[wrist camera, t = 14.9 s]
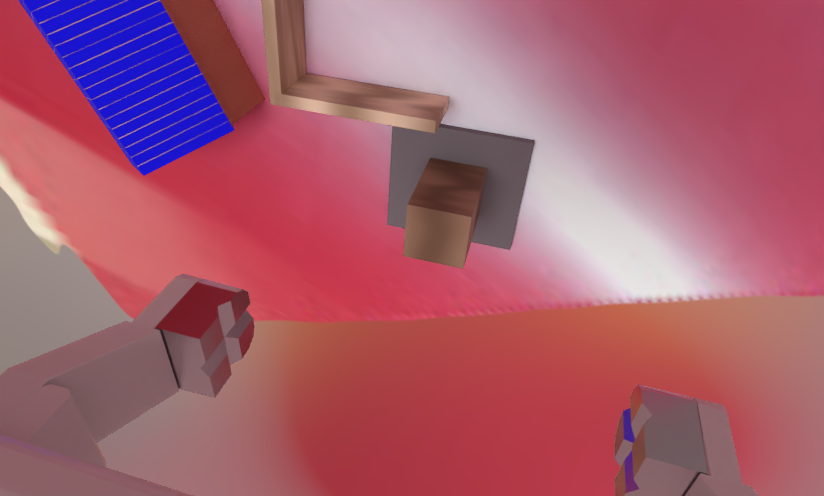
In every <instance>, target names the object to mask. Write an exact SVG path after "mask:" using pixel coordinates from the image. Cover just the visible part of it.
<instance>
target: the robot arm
mask: <svg viewBox="0 0 824 496" xmlns="http://www.w3.org/2000/svg"><path fill="white" fill-rule="evenodd" d="M249 305H250V298H249V294H248V292H247V291H245V290H243V289H239V288H235V287H232V286H228V285H224V284H221V283H217V282H213V281H209V280H206V279H201V278H197V277H193V276H190V275H186V274H182V275H179V276H177V277H175V278H174V279H173V280H172V281H171V282H170V283H169V284H168V285H167V286H166V287H165V289H164V290H163V291H162V292H161V293H160V294H159V295H158V296H157V297H156V298H155V299H154V300H153V301H152V302H151V303H150V304H149V305H148V306H147V307H146V308H145V309H144V310H143V311H142V312H141V313H140V314H139V315H138V316H137V317H136V318H135V319H134V320H133V321H132V322H128V321H124V322H122V323H119V324H117V325H114V326H112V327H109V328H107V329H105V330H102V331H100V332H97V333H95V334H92V335H90V336H87V337H85V338H82V339H80V340H77V341H75V342H72V343H70V344H67V345H65V346H63V347H60V348H57V349H55V350H53V351H50V352H48V353H45V354H43V355H40V356H38V357H35V358H33V359H30V360H28V361H26V362H23V363H20V364H18V365H16V366H13V367H11V368H8V369H7V370H6V371H5V372H3V373H2V374H1V375H0V496H192V495H189V494H186V493H183V492H180V491H177V490H174V489H171V488H168V487H165V486H162V485H158V484H155V483H152V482H149V481H146V480H143V479H140V478H137V477H133V476H131V475H127V474H124V473H121V472H118V471H115V470H112V469H109V468H106V461H105V458H104V456H103V454H102V452H101V450H100V448H99V446H98V444H97V442H99V441H100V440H102V439H103V438H105V437H107V436H108V435H109V434H111V433H113V432H114V431H116V430H118V429H119V428H121V427H123V426H124V425H126V424H127V423H129V422H130V421H132V420H134V419H135V418H137V417H138V416H140V415H142V414H143V413H145V412H146V411H148V410H149V409H151V408H153V407H154V406H156V405H158V404H159V403H161V402H162V401H164V400H166V399H167V398H169V397H170V396H172V395H174V394H175V393H177V392H178V391H179V389H182V390H186V391H190V392H193V393H197V394H201V395H206V396H209V397H213V398H215V397H216V396H217V394H218V393H219V392H220V390H221V389H222V387H223V386H224V384H225V383H226V382H227V380H228V378H229V377H230V376H231V366H230V365H231V364H233V363H235V362H237V361H239V360H241V359H242V358H243V357H244V355H245V354H246V352H247V351H248V349H249V347H250V344H251V342H252V339H253V336H254V321H253V317H252V316H251V315H250V314H249V313H248V311H247V310H246V309H247V307H248V306H249ZM614 453H615V455H614V456H615V460H616V461H617V463H618V464H619V466H620V467H621V468H620V470H619V472H618V474H617V476H616V478H615V496H758V494H757V493H756V492H755V491H754V489H753V488H752V487H750V486H746V485H743V484H742V480H741V475H740V471H739V466H738V461H737V457H736V452H735V447H734V443H733V438H732V434H731V429H730V425H729V420H728V415H727V411H726V409H725V407H724V406H723V405H722V404H717V403H714V402H710V401H705V400H701V399H697V398H692V397H689V396H685V395H680V394H676V393H672V392H667V391H663V390H659V389H654V388H650V387H645V386H642V385H637V386H636V387H635V388H634V390H633V392H632V394H631V396H630V409H627V410H625V411H623V413H622V416H621V418H620V420H619V423H618V427H617V431H616V435H615V449H614Z"/></svg>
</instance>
